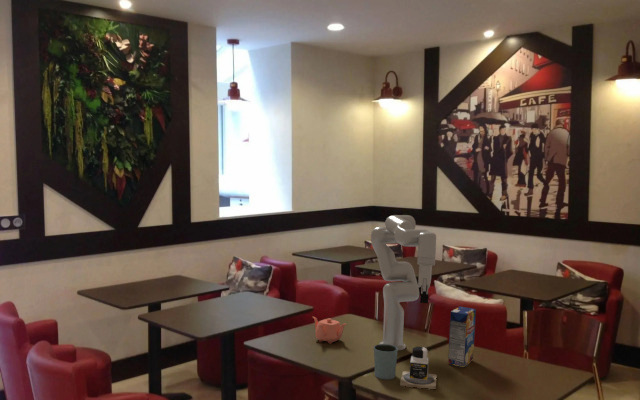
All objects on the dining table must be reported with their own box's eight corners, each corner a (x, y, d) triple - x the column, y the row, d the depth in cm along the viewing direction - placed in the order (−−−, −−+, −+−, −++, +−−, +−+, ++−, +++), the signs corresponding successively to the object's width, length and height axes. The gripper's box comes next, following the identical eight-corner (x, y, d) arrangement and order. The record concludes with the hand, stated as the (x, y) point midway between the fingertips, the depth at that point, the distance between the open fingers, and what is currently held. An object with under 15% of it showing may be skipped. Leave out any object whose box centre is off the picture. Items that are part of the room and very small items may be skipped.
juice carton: (457, 357, 272) (460, 306, 270) (473, 360, 268) (476, 309, 266) (447, 364, 262) (450, 311, 260) (464, 368, 258) (467, 314, 256)
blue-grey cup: (390, 382, 239) (391, 353, 238) (368, 376, 244) (369, 348, 244) (400, 374, 248) (401, 346, 247) (379, 369, 253) (380, 342, 252)
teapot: (346, 344, 285) (347, 322, 284) (317, 345, 282) (318, 323, 281) (338, 335, 299) (339, 314, 298) (311, 336, 296) (312, 315, 295)
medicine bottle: (409, 378, 238) (410, 349, 237) (410, 372, 245) (411, 344, 244) (427, 380, 237) (428, 351, 236) (427, 374, 243) (429, 346, 243)
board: (403, 373, 249) (403, 368, 249) (436, 377, 246) (436, 372, 246) (399, 385, 235) (400, 381, 235) (435, 390, 232) (435, 385, 232)
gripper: (418, 257, 261) (416, 298, 262) (416, 263, 246) (414, 306, 248) (435, 258, 259) (433, 299, 260) (434, 264, 244) (432, 307, 246)
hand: (424, 302), depth 254 cm, fingers closed
